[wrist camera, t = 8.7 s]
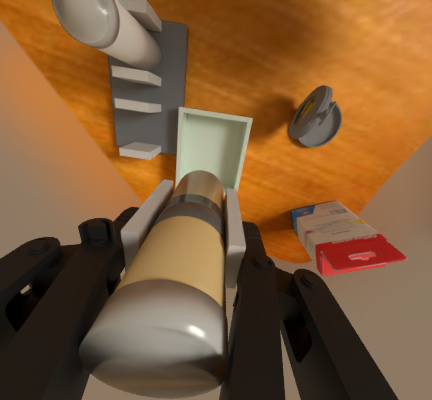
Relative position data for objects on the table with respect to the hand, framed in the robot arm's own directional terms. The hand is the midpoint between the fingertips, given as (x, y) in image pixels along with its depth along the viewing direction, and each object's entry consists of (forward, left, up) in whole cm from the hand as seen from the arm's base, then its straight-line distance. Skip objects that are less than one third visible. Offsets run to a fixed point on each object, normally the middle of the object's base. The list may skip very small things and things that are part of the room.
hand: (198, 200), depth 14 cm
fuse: (-12, -10, -16) cm, 22 cm away
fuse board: (-7, -10, -18) cm, 22 cm away
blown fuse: (0, 0, -2) cm, 2 cm away
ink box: (+9, +21, -18) cm, 29 cm away
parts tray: (0, 0, -18) cm, 18 cm away
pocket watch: (-7, +14, -18) cm, 24 cm away
